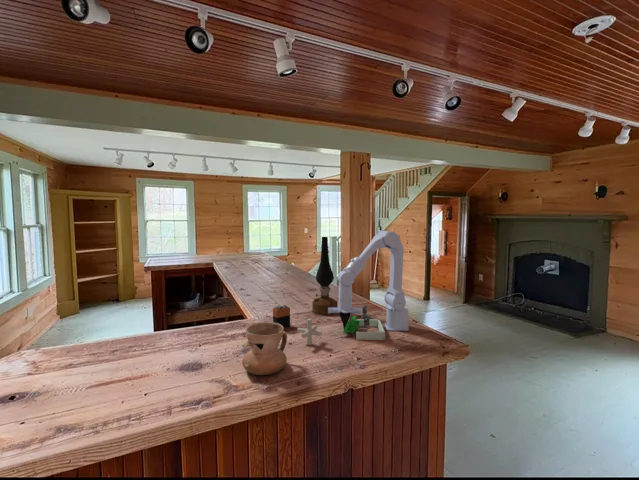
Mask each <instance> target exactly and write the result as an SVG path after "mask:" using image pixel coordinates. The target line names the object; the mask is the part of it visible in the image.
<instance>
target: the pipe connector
mask: <svg viewBox="0 0 639 480" xmlns="http://www.w3.org/2000/svg"><path fill="white" fill-rule="evenodd" d="M312 324H313V323H312V318H307V319H306V328H303V327H302V328H301V327H297V330H296V331H297V333H301V337H302V339H306V341H307V342H306V343H307V345H308V346H312V344H313V339H312V338H313V336H318V337H322V334H323V331H321V330H317V329H318V327H317V325H312Z"/></svg>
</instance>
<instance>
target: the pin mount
mask: <svg viewBox="0 0 639 480" xmlns="http://www.w3.org/2000/svg"><path fill="white" fill-rule="evenodd" d="M364 318H368V321H365V320H364V326H365V325H367V326H369V323H370V319H372V315H371V314H369V313H368V314H367V313H366V314H363V313H362V314H360V319H364Z"/></svg>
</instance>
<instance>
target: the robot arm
mask: <svg viewBox="0 0 639 480" xmlns="http://www.w3.org/2000/svg"><path fill="white" fill-rule="evenodd" d="M400 239H401V238H400V236H399V235H398V234H397V233H396V232H395V231H392V230H380V231H378V232H377V234H375V235H374V236H373V238H372V239H371V240H370V242H369V244H367V246H366V247H365V248H364V250H363V251H362V253H360V255H359V256H355V257H353V258H351V259H350V262H349V263H348V264H347V266H346V267H344V268H343V270H341V271H340V272H339V273H338V274H337V276H336V279H337V281H338V304H337V307H334V308H328V313H336V314H339V318H340V319H341V322H342V326H343V330H344V329H345V326H346V324H347V322H348V321H349V320H350V319H351V314H358V315H361V314H363V307H362V308H360V307H353V302H352V301H353V298H352V297H353V284H354V283H355V278H356V277H357V276H358V275H359V273H360V272H362V271H363V269H364V268H365V265H366V261H367V260H368V259H369V258H371V256H372V255H373V254H374V253H375V252H376V251H378V250H379V249H383V248H386V249H388V251H390V262H389V263H390V265H389V283H388V284H389V285H388V287H387V288H386V293H385V295H384V299H383V300H384V302H385V304H386V317H385V318H386V322H385V323H384V327H385V329H386V331H398V332H399V331H400V332H401V331H405V332H408V331H409V329H410V328H409V319H410V318H409V317H410V316H409V310H408V309H407V307H406V305H407V300H406V298H405V292H404V290H403V288H402V287H403V284H402V283H403V267H404V245H403V244H402V241H401V240H400Z"/></svg>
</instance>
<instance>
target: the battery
mask: <svg viewBox="0 0 639 480" xmlns="http://www.w3.org/2000/svg"><path fill="white" fill-rule="evenodd" d="M272 322H274V323H278V324H281V325H282V326H283V328H284V329H287V328H290V327H291V307H289V306H288V305H286V304H283V305H276V306H274V307H273V308H272Z"/></svg>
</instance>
